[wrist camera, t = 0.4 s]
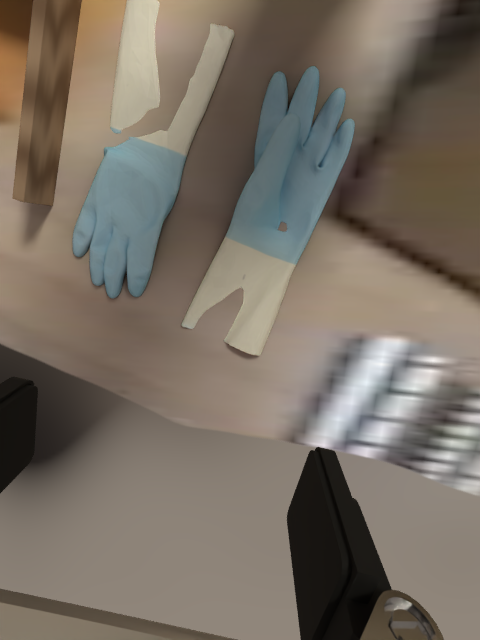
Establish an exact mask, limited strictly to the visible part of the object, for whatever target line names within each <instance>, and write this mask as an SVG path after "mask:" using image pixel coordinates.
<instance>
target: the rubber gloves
mask: <svg viewBox="0 0 480 640" xmlns="http://www.w3.org/2000/svg"><path fill="white" fill-rule="evenodd" d="M159 4H160V2H158V1H157V0H127V3H126V9H125V14H124V20H123V26H122V33H121V39H120V46H119V53H118V60H117V67H116V75H115V82H114V91H113V99H112V108H111V117H110V128H111V130H112V131H113V132H114V133H121V130H122V129H124V128H127V127H129V126H131V125H134V124H135V123H136V122H138V121H139V120H140V119H142V118H143V116H144V115H145V114H146V112H147V111H148V110H150V109H153V108H158V107H159V103H160V89H159V79H158V69H157V61H156V55H155V24H156V19H157V14H158V9H159ZM233 38H234V32H233V30H231V29H229V28H228V27H227V26H221V25H220V24H219V25H218V26H217V25H215V24H214V23H211V24H210V33H209V37H208V39H207V42H206V44H205V47H204V50H203V53H202V56H201V59H200V61H199V63H198V65H197V67H196V71H195V74H194V76H193V77H192V78H191V79H190V81H189V86H188V90H187V93H186V95H185V97H184V99H183V101H182V103H181V105H180V107H179V109H178V111H177V113H176V115H175V117H174V119H173V121H172V123H171V125H170V127H169V129H168V130H167V131H163V130H159V131H156V132H154V133H152V134H149V135H144V136H141V137H129V140H127V141H125V142H124V143H121V144H120V145H118V146H116V147H105V148H104V158H103V160H102V162H101V164H100V167H99V169H98V171H97V173H96V176H95V178H94V181H93V183H92V185H91V188H90V190H89V193H88V195H87V198H86V200H85V203H84V205H83V207H82V210H81V212H80V215H79V217H78V220H77V223H76V226H75V228H74V232H73V253H74V255H75V256H77V257H82V256H83V255H85V253H86V252H87V250H88V249H89V246H90V273H91V279H92V282H93V284H94V285H97V286H100V285H102V284H103V283H104V282H105V287H106V291H107V294H108V296H109V297H110V298H116V297H117V296H118V295H119V294H120V292H121V289H122V284H123V279H124V276H125V273H126V271H127V281H128V290H129V292H130V293H131V295H133V296H134V297H139V296H141V295H142V293H143V292H144V290H145V288H146V285H147V283H148V280H149V277H150V274H151V270H152V266H153V260H154V255H155V251H156V247H157V243H158V239H159V236H160V232H161V228H162V225H163V222H164V220H165V218H166V217H167V216H168V214H169V213H170V211H171V209H172V207H173V205H174V203H175V199H176V196H177V194H178V191H179V187H180V182H181V176H182V172H183V167H184V164H185V161H186V158H187V155H188V151H189V148H190V146H191V143H192V141H193V138H194V135H195V133H196V131H197V129H198V127H199V124H200V122H201V120H202V118H203V116H204V114H205V111H206V109H207V106H208V104H209V101H210V99H211V96H212V94H213V91H214V89H215V86H216V84H217V81H218V79H219V76H220V73H221V71H222V68H223V65H224V63H225V60H226V57H227V55H228V52H229V49H230V46H231V43H232V40H233ZM318 89H319V71H318V69H317V68H316V67H315V66H311V67H309V68H308V69H307V70H306V71H305V72H304V74H303V76H302V78H301V80H300V82H299V84H298V86H297V88H296V90H295V93H294V95H293V98H292V100H291V103H290V106H289V109H288V88H287V81H286V77H285V75H284V73H282V72H280V71H278V72H276V73H274V75H273V77H272V78H271V81H270V83H269V85H268V88H267V91H266V94H265V98H264V101H263V105H262V109H261V114H260V120H259V126H258V132H257V138H256V143H255V154H254V166H255V170H254V171H253V173H252V175H251V176H250V178H249V180H248V181H247V183H246V185H245V187H244V189H243V191H242V193H241V195H240V198H239V200H238V202H237V205H236V208H235V211H234V214H233V217H232V220H231V224H230V227H229V229H228V232H227V234H226V236H225V238H224V240H223V242H222V244H221V246H220V248H219V250H218V252H217V254H216V255H215V257H214V259H213V261H212V263H211V265H210V267H209V269H208V271H207V273H206V275H205V277H204V279H203V281H202V283H201V285H200V286H199V288H198V290H197V292H196V294H195V296H194V298H193V300H192V303H191V305H190V307H189V309H188V311H187V313H186V315H185V318H184V320H183V322H182V326H183V327H187V328H189V329H194V327H195V325H196V323H197V322H198V320H199V319H200V317H201V316H202V314H203V313H204V312H205V311H206V310H207V309H209V308H211V307H212V306H213V305H215V304H217V303H219V302H220V301H222V300H223V299H224V298H225V297H227V296H228V295H229V294H230V293H232V292H233V291H235V290H236V289H238V288H242V289H243V290H244V297H243V305H242V306H241V308H240V311H239V313H238V315H237V317H236V319H235V321H234V323H233V325H232V327H231V329H230V330H229V332H228V335H227V337H226V338H225V340H224V341H225V342H226V343H228V344H229V345H230V346H233V347H235V348H236V349H239V350H241V351H243V352H245V353H248V354H251V355H257V356H260V355H261V353H262V350H263V348H264V345H265V343H266V341H267V338H268V336H269V334H270V331H271V329H272V326H273V324H274V321H275V319H276V317H277V314H278V311H279V308H280V306H281V303H282V300H283V298H284V295H285V292H286V289H287V286H288V283H289V280H290V277H291V275H292V273H293V271H294V268H295V266H296V264H297V262H298V260H299V258H300V256H301V254H302V253H303V251H304V249H305V247H306V245H307V243H308V241H309V239H310V237H311V234H312V232H313V230H314V228H315V226H316V224H317V221H318V219H319V217H320V215H321V213H322V211H323V209H324V206H325V204H326V202H327V200H328V198H329V196H330V194H331V192H332V190H333V187H334V185H335V183H336V180H337V178H338V176H339V173H340V171H341V169H342V167H343V165H344V163H345V161H346V158H347V156H348V153H349V150H350V147H351V143H352V139H353V134H354V127H355V123H354V121H353V120H352V119H347V120H345V121H344V122H343V123H342V125H341V126H340V128H339V129H338V130H337V132H336V129H337V125H338V123H339V120H340V117H341V114H342V111H343V108H344V104H345V98H346V93H345V91H344V89H343V88H337V89H336V90H335V91H334V92H333V93H332V94H331V95H330V97H329V98H328V100H327V101H326V102H325V104H324V106H323V107H322V109H321V110H320V112H319V114H318V115H317V117H316V119H315V121H314V123H313V125H312V120H313V116H314V111H315V106H316V101H317V95H318ZM311 125H312V127H311ZM281 221H282V222H284V223H286V224H287V231H286V232H282V231H279V230H278V228H279V225H280V223H281Z"/></svg>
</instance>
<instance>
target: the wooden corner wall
mask: <svg viewBox="0 0 480 640" xmlns="http://www.w3.org/2000/svg"><path fill="white" fill-rule="evenodd" d="M81 1H82V0H33V7H32V16H31V26H30V35H29V45H28V55H27V64H26V74H25V83H24V93H23V103H22V112H21V122H20V131H19V141H18V150H17V160H16V170H15V179H14V189H13V199H16V200H19V201H22V202H27V203H35V204H43V205H51V206H53V200H54V193H55V186H56V179H57V172H58V165H59V158H60V150H61V143H62V136H63V129H64V122H65V115H66V108H67V100H68V93H69V86H70V79H71V72H72V65H73V58H74V51H75V43H76V36H77V29H78V22H79V15H80V8H81Z"/></svg>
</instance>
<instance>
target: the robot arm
mask: <svg viewBox="0 0 480 640" xmlns="http://www.w3.org/2000/svg"><path fill="white" fill-rule="evenodd" d="M37 394H38V389H37V387H36V386H34V383H33V381H30V380H26V379H22V378H18V377H11V378H9V379H7V380H6V381H4V382H2V383H1V384H0V493H1V492H2V491H3V490H4V489H5V488H6V487H7V486H8V485H9V484H10V483H11V482H12V481H13V479H15V477H16V476H17V475H18V474H19V473H20V472H21V471H22V470H23V469H24V468H25V467H26V466H27V465H28V464H29V463H30V461H31V459H32V457H33V455H34V445H35V429H36V412H37ZM287 525H288V533H289V542H290V551H291V559H292V568H293V576H294V585H295V593H296V602H297V610H298V619H299V627H300V636H301V640H444V638H443V635H442V633H441V632H440V630H439V628H438V626H437V624H436V623H435V621H434V620H433V618H432V617H431V616H430V614H429V613H428V612H427V611H426V610H425V609H424V608H423V607H422V606H421V605H420V604H419V603H418V602H417V601H416V600H414V599H413V598H411V597H410V596H408V595H407V594H405V593H402V592H400V591H396V590H392V589H391V586H390V584H389V581H388V579H387V576H386V574H385V571H384V568H383V566H382V563H381V561H380V558H379V555H378V553H377V550H376V548H375V545H374V542H373V540H372V537H371V535H370V532H369V529H368V527H367V524H366V522H365V519H364V516H363V514H362V511H361V509H360V506H359V504H358V502H357V501H356V500H355V499H354V498H352V496H351V493H350V490H349V488H348V485H347V482H346V480H345V477H344V474H343V471H342V469H341V466H340V463H339V461H338V458H337V455H336V453H335V451H333V450H329V449H324V448H320V447H317V448H316V449H315V451H313V450H311V451H310V452H309V454H308V457H307V460H306V463H305V465H304V468H303V471H302V474H301V476H300V479H299V482H298V485H297V487H296V490H295V493H294V496H293V498H292V501H291V504H290V507H289V510H288V515H287ZM0 640H236V639H232V638H227V637H223V636H218V635H214V634H209V633H205V632H200V631H195V630H191V629H186V628H182V627H177V626H172V625H168V624H163V623H159V622H154V621H149V620H145V619H140V618H136V617H131V616H127V615H122V614H117V613H113V612H108V611H103V610H98V609H93V608H89V607H84V606H79V605H75V604H70V603H66V602H60V601H56V600H51V599H47V598H41V597H37V596H32V595H28V594H23V593H18V592H13V591H8V590H3V589H0Z"/></svg>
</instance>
